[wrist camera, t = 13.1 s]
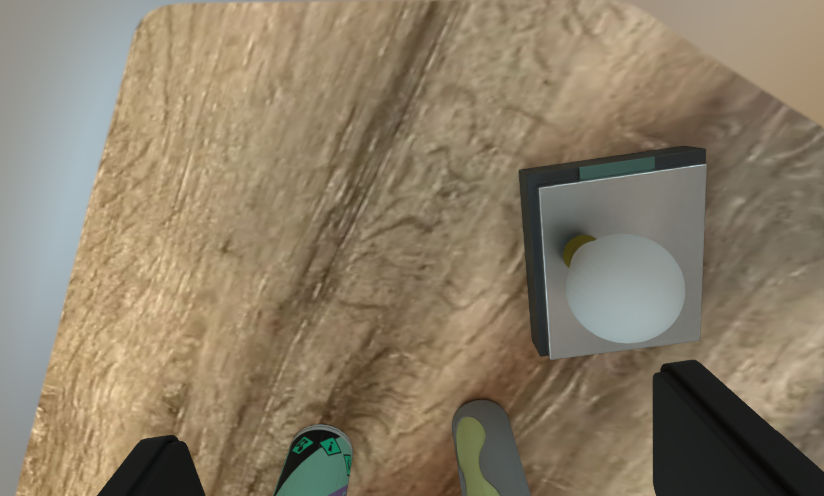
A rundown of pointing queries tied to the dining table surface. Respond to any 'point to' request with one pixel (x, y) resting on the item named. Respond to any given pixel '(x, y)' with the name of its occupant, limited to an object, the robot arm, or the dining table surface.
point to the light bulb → (623, 286)
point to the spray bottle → (487, 452)
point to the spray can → (316, 463)
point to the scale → (607, 215)
